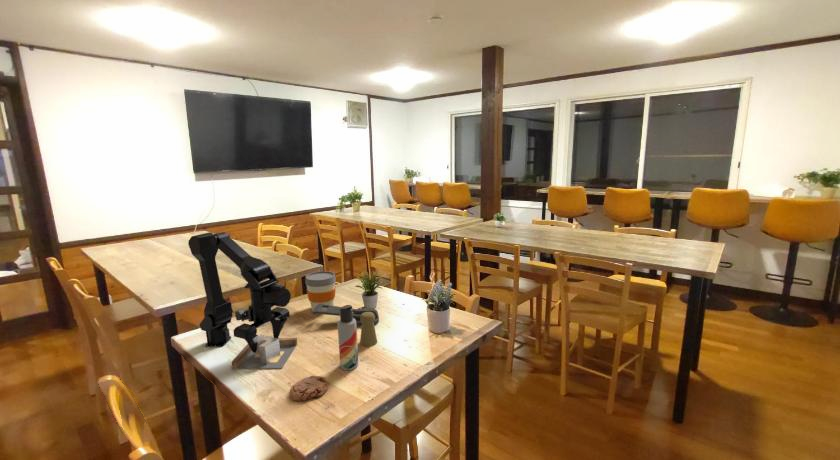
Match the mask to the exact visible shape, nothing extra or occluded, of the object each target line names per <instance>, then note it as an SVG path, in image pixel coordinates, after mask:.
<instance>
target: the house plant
mask: <svg viewBox="0 0 840 460" xmlns="http://www.w3.org/2000/svg"><path fill="white" fill-rule="evenodd" d="M377 273H378V271H376V272H375V270H373V271H372V274H371V277H370V275H369V272H368V271H366V275H365V274H364V272H362V271H361V276H362V278H360V277H358V276H356V278H357V279H358V281H360V282H361V283H362V284H361V285H359V284H357V285H355V286H354V287H355V288H360V289H363V290H364V291H363V292H362V293H361V298H362V302H363V306H364V309H376V308H378V307H377V306H378V299H379V292H378V291H377V290H379V289H381V290H383V287H381V286H382V285H383V284H382V283H383V281H381V282H379V280H380V279H383V278H385V277H384V276H385V275H386V274H382V275H380V276H378V277H376V276H377Z"/></svg>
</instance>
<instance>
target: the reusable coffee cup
mask: <svg viewBox="0 0 840 460" xmlns="http://www.w3.org/2000/svg"><path fill="white" fill-rule="evenodd" d="M336 281H337V280H336V274H335V272H333V271H330V270H329V271H328V270H323V271H322V270H320V271H314V272H311V273H308V274H306V276H305V281H304V283H305V285H306V294H307V298H308V302H309V303H310V308H311V311H312V312H313V313H314V308H315V307H316V306H317V305H318V304H325V305H331V306H335V305H334V304H335V303H334V302H335V298H336V289H337V288H336ZM327 309H328V308H324V307H322V308H321V309H320V311H327Z"/></svg>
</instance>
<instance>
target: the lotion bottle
mask: <svg viewBox="0 0 840 460" xmlns="http://www.w3.org/2000/svg"><path fill="white" fill-rule="evenodd" d="M340 307H341V308H340V316H339V317H340V318H339V319H338V321H337V335H338V337H337V338H338V353H339V355H338V356H339V365H340V368H341V369H342V370H344V371H351V370H354V369H356V368H358V366H359V352H358V351H359V350H358V349H359V348H358V331H357V330H358V329H357V327H356V320H355V319H354V318H353V313H354V312H353V310H352V309H353V306H352V305H351V304H346V305H343V306H340Z"/></svg>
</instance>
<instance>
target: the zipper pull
mask: <svg viewBox="0 0 840 460" xmlns="http://www.w3.org/2000/svg"><path fill="white" fill-rule="evenodd" d="M322 307H324V308H328V309H327V311H320V309H321V308H322ZM341 307H342V306H336V305H333V306H331V305H325V304H318V305H317V306H316V307H315V308H314V312H313V314H314V315H315V314H316V315H324V316H325V315H326V316H339V317H340V308H341ZM352 310H353V318H354V319H355V320H356V327H360V328H361V327H362V323H361V321H360V316H361V314H362V313H364V312H372V313H373V314H374V315H375V321H374V327H376V326H377V325H378V324H379V322H380V316H379V312H378V310H377V309H376V308H375V309H365V308H352Z"/></svg>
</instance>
